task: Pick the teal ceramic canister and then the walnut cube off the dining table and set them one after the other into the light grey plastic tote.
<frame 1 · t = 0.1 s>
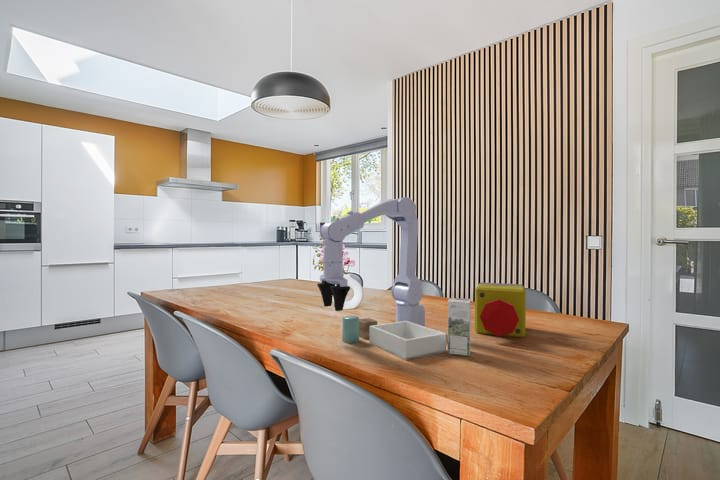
hand: (333, 308, 109), 10 cm above the table, tool pointing down, fingers open, 7 cm apart
teal canister: (350, 340, 110), on the table
syrup box: (459, 353, 99), on the table
grey tote: (406, 347, 104), on the table
walnut cube: (366, 336, 116), on the table
emergency stop button: (499, 334, 119), on the table
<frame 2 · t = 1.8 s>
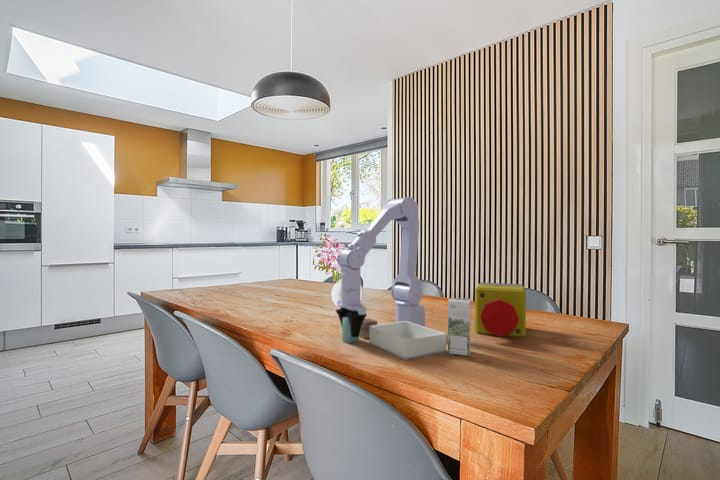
hand: (350, 334, 110), 2 cm above the table, tool pointing down, fingers closed on teal canister, 5 cm apart
teal canister: (350, 340, 110), on the table, touching gripper
everything else where it was.
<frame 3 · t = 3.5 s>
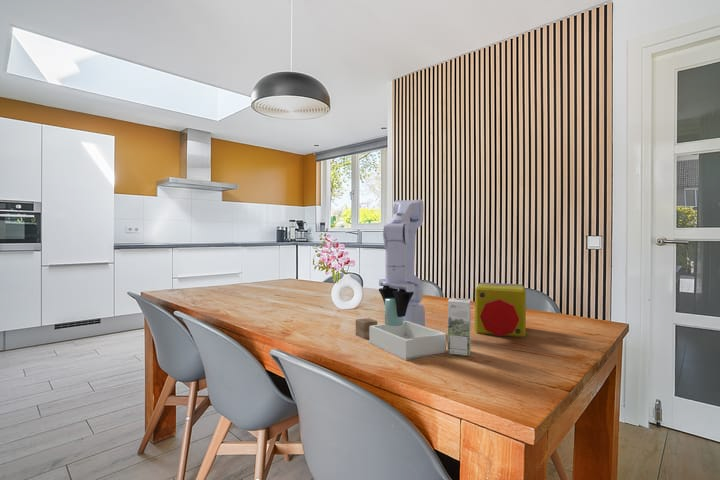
hand: (395, 314, 103), 9 cm above the table, tool pointing down, fingers closed on teal canister, 5 cm apart
teal canister: (393, 323, 103), point 7 cm above the table, touching gripper
everything else where it was.
when the fingers open (4 cm above the table, at t = 5.5 s): teal canister stays where it is, resting on grey tote.
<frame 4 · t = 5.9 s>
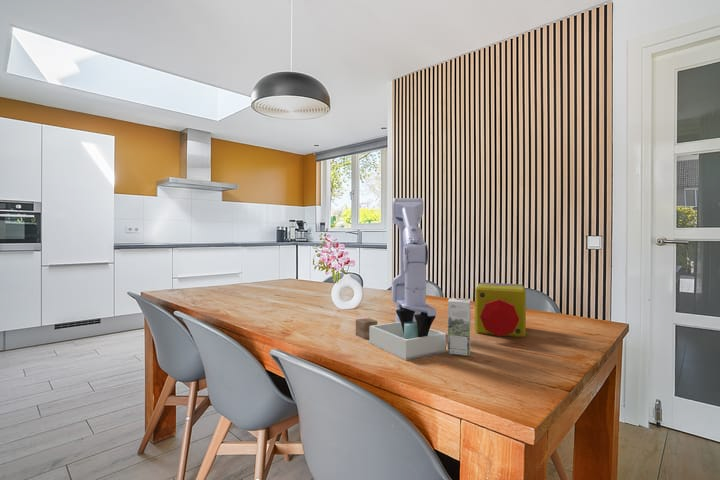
hand: (415, 337, 100), 4 cm above the table, tool pointing down, fingers open, 6 cm apart
teal canister: (413, 349, 100), point 1 cm above the table, touching grey tote
everything else where it was.
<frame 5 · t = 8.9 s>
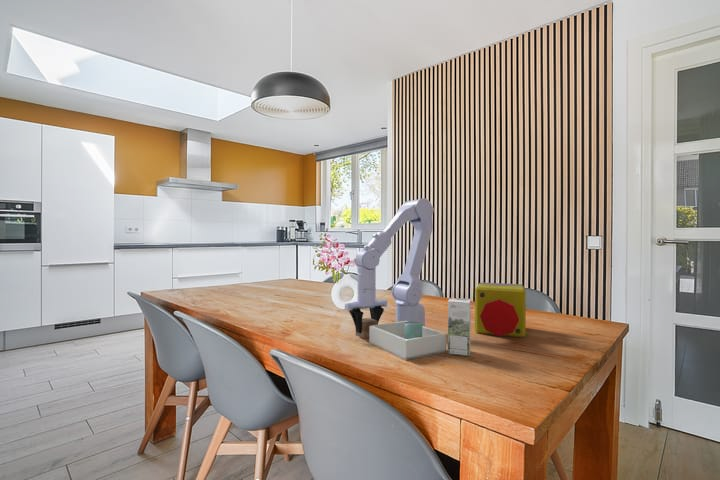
hand: (366, 331, 116), 1 cm above the table, tool pointing down, fingers closed on walnut cube, 5 cm apart
walnut cube: (366, 335, 116), on the table, touching gripper
everything else where it was.
when the fingers open (4 cm above the table, at t = 11.8 s): walnut cube drops 1 cm, resting on grey tote.
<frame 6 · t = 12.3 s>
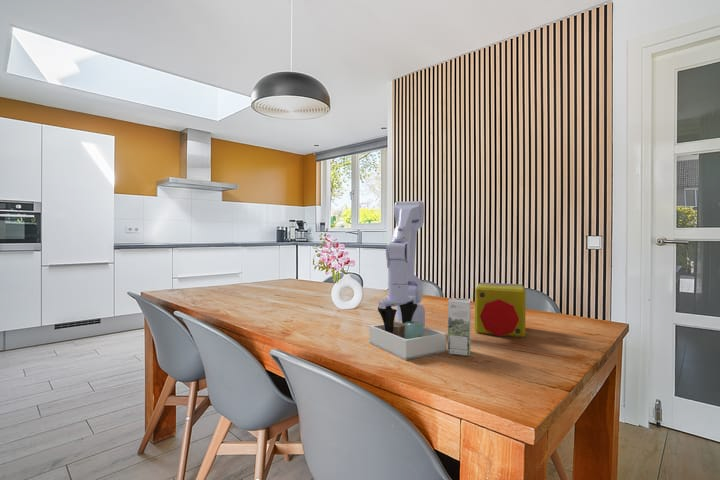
hand: (397, 330, 107), 4 cm above the table, tool pointing down, fingers open, 7 cm apart
walnut cube: (396, 341, 107), point 1 cm above the table, touching grey tote
everything else where it was.
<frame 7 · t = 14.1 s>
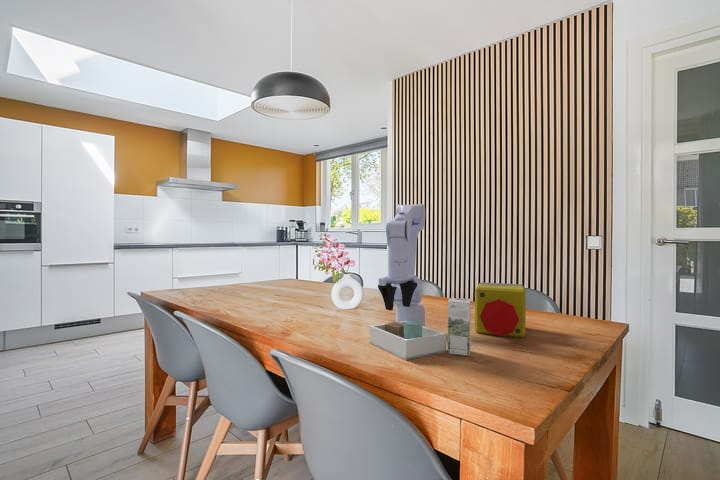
hand: (397, 308, 107), 10 cm above the table, tool pointing down, fingers open, 7 cm apart
nothing on the table moved.
at the end: teal canister inside the target area on the grey tote (4.0 cm from its centre), point 0.7 cm above the grey tote's base; walnut cube inside the target area on the grey tote (4.4 cm from its centre), point 0.6 cm above the grey tote's base; the gripper is holding nothing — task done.
